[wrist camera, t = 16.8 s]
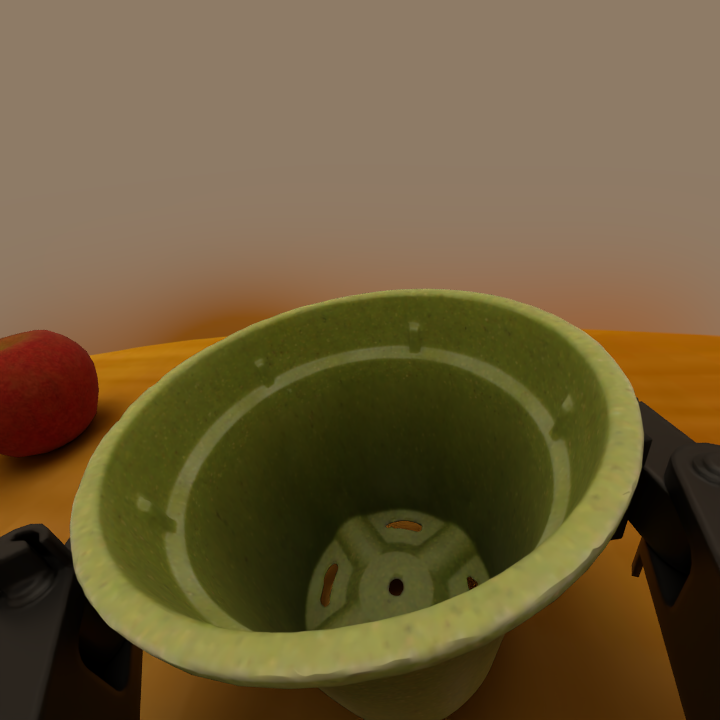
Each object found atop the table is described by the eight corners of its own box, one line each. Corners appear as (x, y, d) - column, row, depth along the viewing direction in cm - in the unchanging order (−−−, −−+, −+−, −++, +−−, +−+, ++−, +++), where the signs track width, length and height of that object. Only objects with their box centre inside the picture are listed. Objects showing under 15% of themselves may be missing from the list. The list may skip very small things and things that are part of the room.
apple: (-39, 476, 22) (-146, 375, 18) (72, 402, 29) (10, 315, 25) (46, 484, 20) (-55, 371, 16) (145, 401, 27) (89, 307, 23)
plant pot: (646, 918, 6) (1014, 796, 2) (186, 797, 8) (-128, 614, 4) (522, 482, 14) (538, 271, 10) (304, 480, 16) (240, 307, 12)
